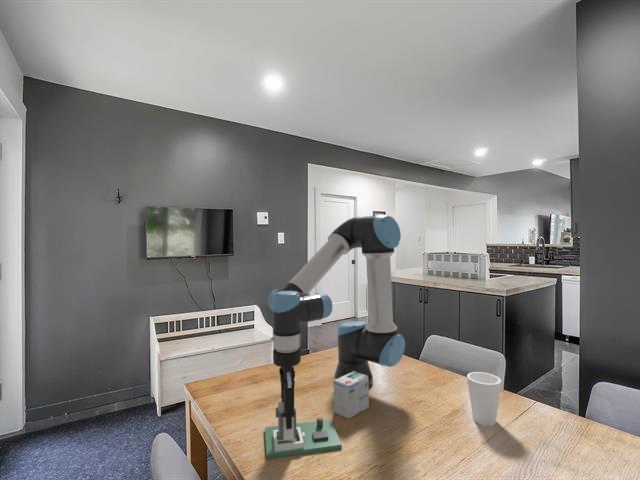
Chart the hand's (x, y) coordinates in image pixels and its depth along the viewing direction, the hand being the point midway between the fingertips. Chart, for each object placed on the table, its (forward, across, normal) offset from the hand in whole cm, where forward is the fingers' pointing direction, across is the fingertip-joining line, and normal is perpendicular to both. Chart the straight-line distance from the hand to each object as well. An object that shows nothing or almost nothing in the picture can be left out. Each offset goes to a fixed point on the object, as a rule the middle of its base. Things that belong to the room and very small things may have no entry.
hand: (287, 433), depth 92 cm
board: (+3, -2, +4) cm, 6 cm away
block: (0, 0, 0) cm, 0 cm away
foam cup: (+3, 0, +61) cm, 61 cm away
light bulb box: (+3, -15, +23) cm, 27 cm away
